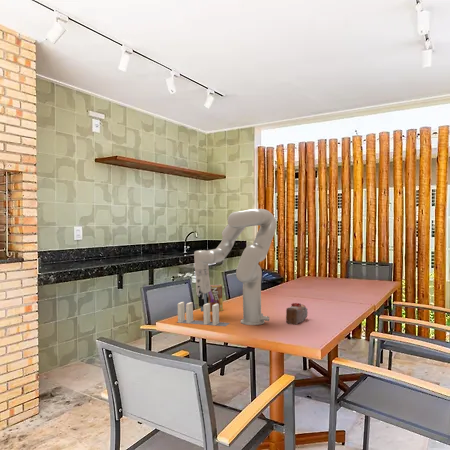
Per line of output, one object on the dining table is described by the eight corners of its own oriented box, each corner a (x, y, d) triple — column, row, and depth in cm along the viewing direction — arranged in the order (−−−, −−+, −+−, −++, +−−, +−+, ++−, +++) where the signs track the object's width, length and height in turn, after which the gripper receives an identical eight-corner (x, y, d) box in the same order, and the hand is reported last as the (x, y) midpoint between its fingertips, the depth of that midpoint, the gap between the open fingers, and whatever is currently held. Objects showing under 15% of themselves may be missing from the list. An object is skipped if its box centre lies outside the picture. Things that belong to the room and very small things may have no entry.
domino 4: (219, 322, 205) (218, 303, 205) (215, 325, 200) (215, 305, 200) (216, 322, 205) (215, 303, 205) (212, 325, 201) (212, 305, 200)
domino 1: (184, 320, 212) (184, 301, 212) (180, 322, 207) (180, 303, 207) (182, 320, 212) (181, 301, 212) (177, 322, 208) (177, 303, 208)
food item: (294, 318, 213) (294, 299, 213) (308, 319, 209) (308, 301, 209) (284, 323, 202) (284, 304, 202) (299, 325, 198) (299, 306, 198)
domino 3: (210, 322, 206) (209, 303, 206) (206, 324, 202) (206, 305, 202) (207, 322, 207) (207, 303, 207) (203, 324, 202) (203, 305, 202)
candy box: (222, 309, 239) (221, 284, 239) (223, 310, 234) (222, 285, 234) (207, 310, 238) (207, 285, 238) (208, 311, 234) (207, 286, 234)
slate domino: (207, 309, 219) (206, 291, 219) (203, 311, 214) (202, 293, 214) (204, 309, 219) (203, 291, 220) (200, 311, 215) (199, 293, 215)
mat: (230, 323, 204) (230, 322, 204) (225, 327, 197) (225, 326, 197) (182, 320, 214) (182, 319, 214) (176, 323, 207) (176, 322, 207)
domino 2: (193, 320, 210) (192, 302, 210) (189, 323, 205) (188, 304, 205) (190, 320, 211) (190, 302, 210) (186, 323, 206) (185, 304, 206)
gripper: (201, 274, 208) (203, 308, 208) (214, 270, 224) (215, 302, 223) (189, 274, 211) (191, 308, 210) (202, 270, 226) (203, 302, 226)
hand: (203, 305), depth 217 cm, fingers closed on slate domino, 4 cm apart
